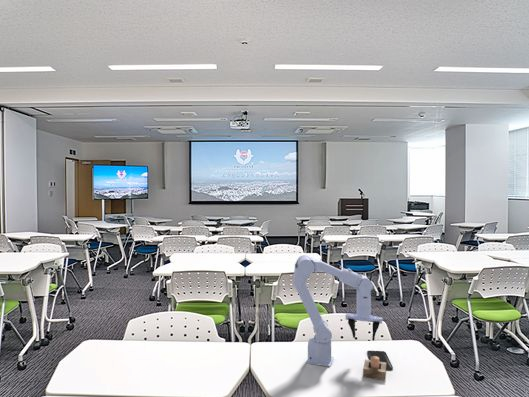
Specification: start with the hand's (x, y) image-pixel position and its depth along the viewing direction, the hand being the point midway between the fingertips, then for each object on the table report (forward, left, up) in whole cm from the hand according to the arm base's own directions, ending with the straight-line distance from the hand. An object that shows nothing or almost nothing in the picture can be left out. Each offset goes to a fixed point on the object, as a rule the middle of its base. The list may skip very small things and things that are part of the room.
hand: (363, 338), depth 152 cm
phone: (+6, +2, -10) cm, 12 cm away
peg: (+5, -9, -9) cm, 14 cm away
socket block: (+5, -9, -9) cm, 14 cm away
